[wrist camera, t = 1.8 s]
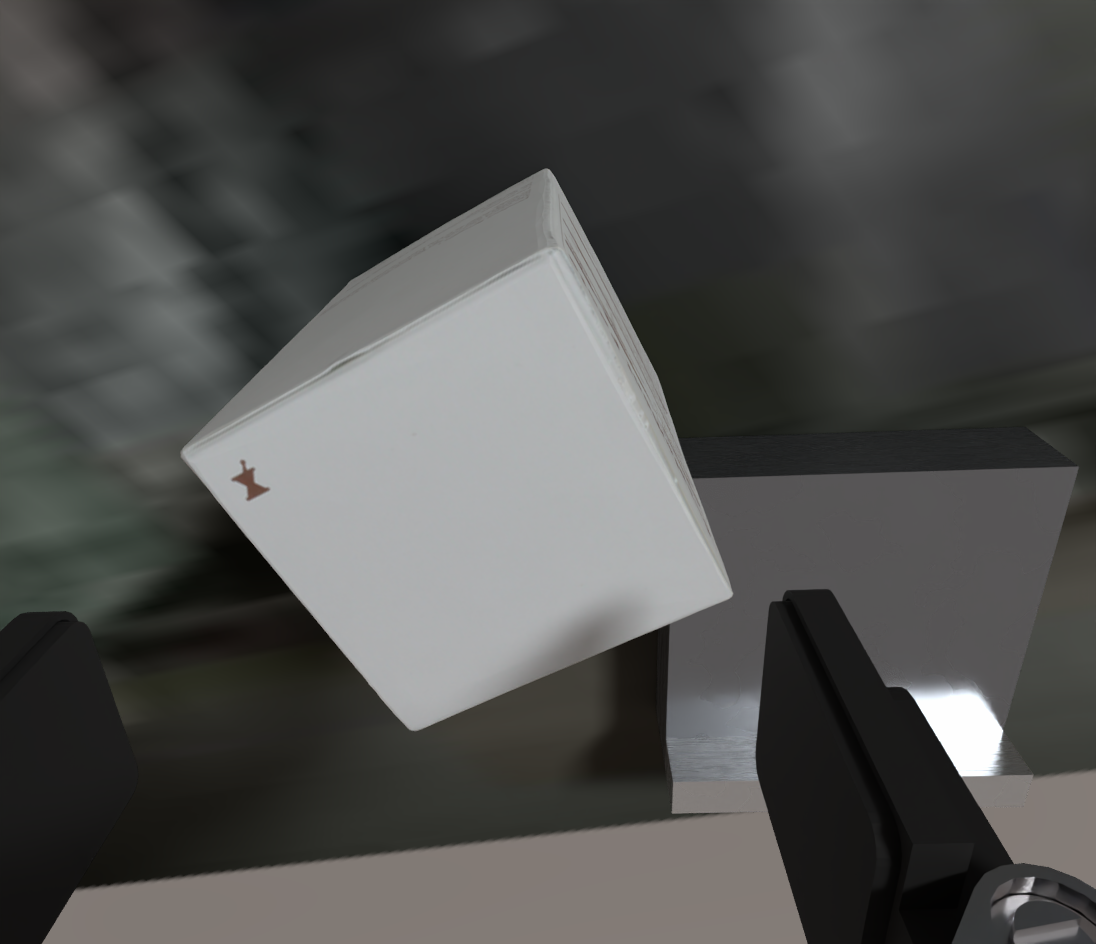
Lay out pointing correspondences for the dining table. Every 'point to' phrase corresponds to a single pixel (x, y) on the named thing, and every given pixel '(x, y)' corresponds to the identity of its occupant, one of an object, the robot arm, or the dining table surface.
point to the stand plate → (866, 589)
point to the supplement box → (469, 464)
